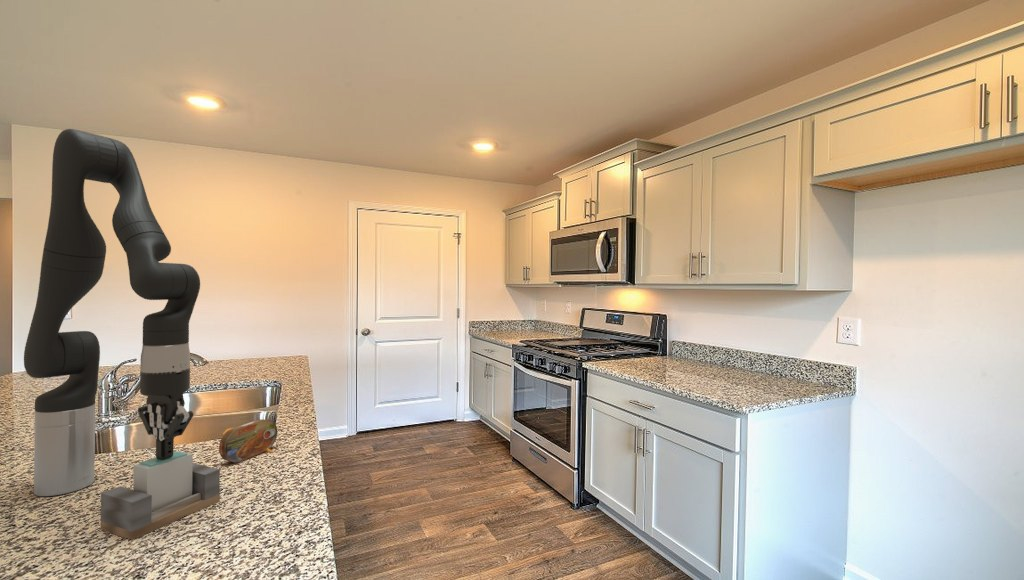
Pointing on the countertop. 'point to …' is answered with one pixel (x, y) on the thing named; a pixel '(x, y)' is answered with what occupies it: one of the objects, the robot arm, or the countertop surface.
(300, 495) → the countertop surface
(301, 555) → the countertop surface
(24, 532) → the countertop surface
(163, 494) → the block
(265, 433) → the tin
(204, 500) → the rack
